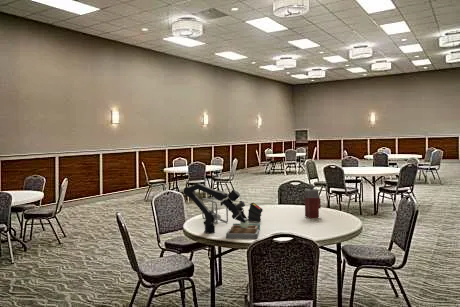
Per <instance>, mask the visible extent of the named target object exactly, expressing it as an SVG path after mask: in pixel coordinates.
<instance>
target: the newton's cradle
mask: <svg viewBox="0 0 460 307" xmlns="http://www.w3.org/2000/svg"><path fill="white" fill-rule="evenodd" d="M224 200H225V199H223V200H221V201H222V202H223V201H224ZM201 201H202V202H203V203H204V201H207V202H208V203H209V205H208V206H209V208H210V210H213V211H214V212H215V213H216V216H217V218H216V220H215V221H214V223H213V224H214V225H217V224H218V220H219V221H220V222H219V224H224V223H229V222H228V221H229V213H228V212H229V209H228V208H227V207H226V206H225V208H226V211H225V212H226V220H224V219H223V218H222V216H221V215H220V214H219V213H220V212H221V211H220V210H221V209H219V208H218V204H219V203H220V204H219V205H221V201H219V200H217V199H216V198H214V197H213V196H211V199H210V198H209V197H202V198H201ZM214 209H215V210H214ZM218 209H219V211H218ZM201 213H202V214H201V215H202V219H204V220H206V218H205V215H204V213H203V212H202V211H201Z"/></svg>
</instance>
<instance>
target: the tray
mask: <svg viewBox="0 0 460 307" xmlns="http://www.w3.org/2000/svg"><path fill="white" fill-rule="evenodd" d="M230 229H231V233H237V234H256V232H257V230H259V231H261V224H260V223H248V228H241V227H240V223H237V222H236V223H235V222H233V224H232V226H231V228H230Z"/></svg>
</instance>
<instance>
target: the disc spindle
mask: <svg viewBox="0 0 460 307" xmlns="http://www.w3.org/2000/svg"><path fill="white" fill-rule="evenodd" d="M243 219H244V220H245V221H246V222H245V223H243V222H241V221H239V224H240V227H241V228H248V224H249V221H248V217H247V218H243Z"/></svg>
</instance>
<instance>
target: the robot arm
mask: <svg viewBox="0 0 460 307" xmlns="http://www.w3.org/2000/svg"><path fill="white" fill-rule="evenodd" d="M196 190H199V191H201V192H203V193H206V194H208V195H210V196H211V197H214V198H216V199H217V200H216V199H215V200H216V201H218V200H219V201H218V202H220V203H221V204H220V207H221V206H223V205H224V207H225V208H226V207H227V208H228V212H231V213H232V215H231V218H232V219H233V220H236V221H238V222H240V221H241V222H243V223H245V222H246V221H245V220H244V219H243V218H247V219H248V216H246V215H245V212H244V211H245V210H244V207H245V206H246V203H245V202H244V201H243V200H240V201H239V203H234V202H236V201H237V200H238V198H240V197H241V194H240V193H239V192H238V191H237V190H235V189H232V190H231V191H230V192H229V193H226V192H224V191H221V190H217V189H213V188H212V187H209V186H207V185H204V184H202V183H199V182H198V183H196V184H193V185H191V186H185V187H184V188H183V191H182V192H183V194H184V195H185V196H186V197H188V198H189V199H191V200H192V201H193V203H194V204H195V205H196V206H197V207H198V208H199V210H200V211H201V213H202V212H203V213H204V218H206V219H204V221H203V225H204V231H203V232H204V233H205V234H213V233H216V232H215V231H216V229H215V228H216V226H215V223H214V222H216V218H217V216H216V212H215V210H214V211H213V210H212V209H210V208H208V207H207V206H206V205H205V203H204V201H203V202H202V199H200V197H198V195H197V192H196ZM221 200H224V201H223V202H222V201H221Z"/></svg>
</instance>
